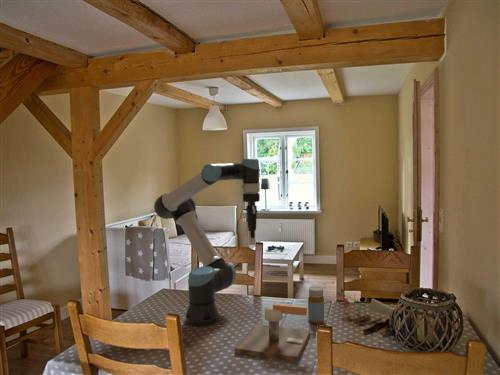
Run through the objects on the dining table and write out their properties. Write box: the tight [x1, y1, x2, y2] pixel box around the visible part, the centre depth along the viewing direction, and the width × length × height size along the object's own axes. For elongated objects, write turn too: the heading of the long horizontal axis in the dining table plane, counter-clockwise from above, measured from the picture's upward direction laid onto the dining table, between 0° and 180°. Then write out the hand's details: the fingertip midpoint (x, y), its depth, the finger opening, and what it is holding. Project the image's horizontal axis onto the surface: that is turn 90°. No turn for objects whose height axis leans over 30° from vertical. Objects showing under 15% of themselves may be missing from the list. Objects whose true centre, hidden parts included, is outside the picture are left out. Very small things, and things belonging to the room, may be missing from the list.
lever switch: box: [264, 302, 308, 322], centre depth 157 cm, size 16×7×6 cm, turn 72°
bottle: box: [307, 286, 325, 325], centre depth 180 cm, size 7×7×15 cm
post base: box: [234, 321, 311, 363], centre depth 159 cm, size 24×24×10 cm
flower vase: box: [336, 287, 396, 317], centre depth 183 cm, size 12×12×35 cm
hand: (252, 244), depth 183 cm, fingers closed
